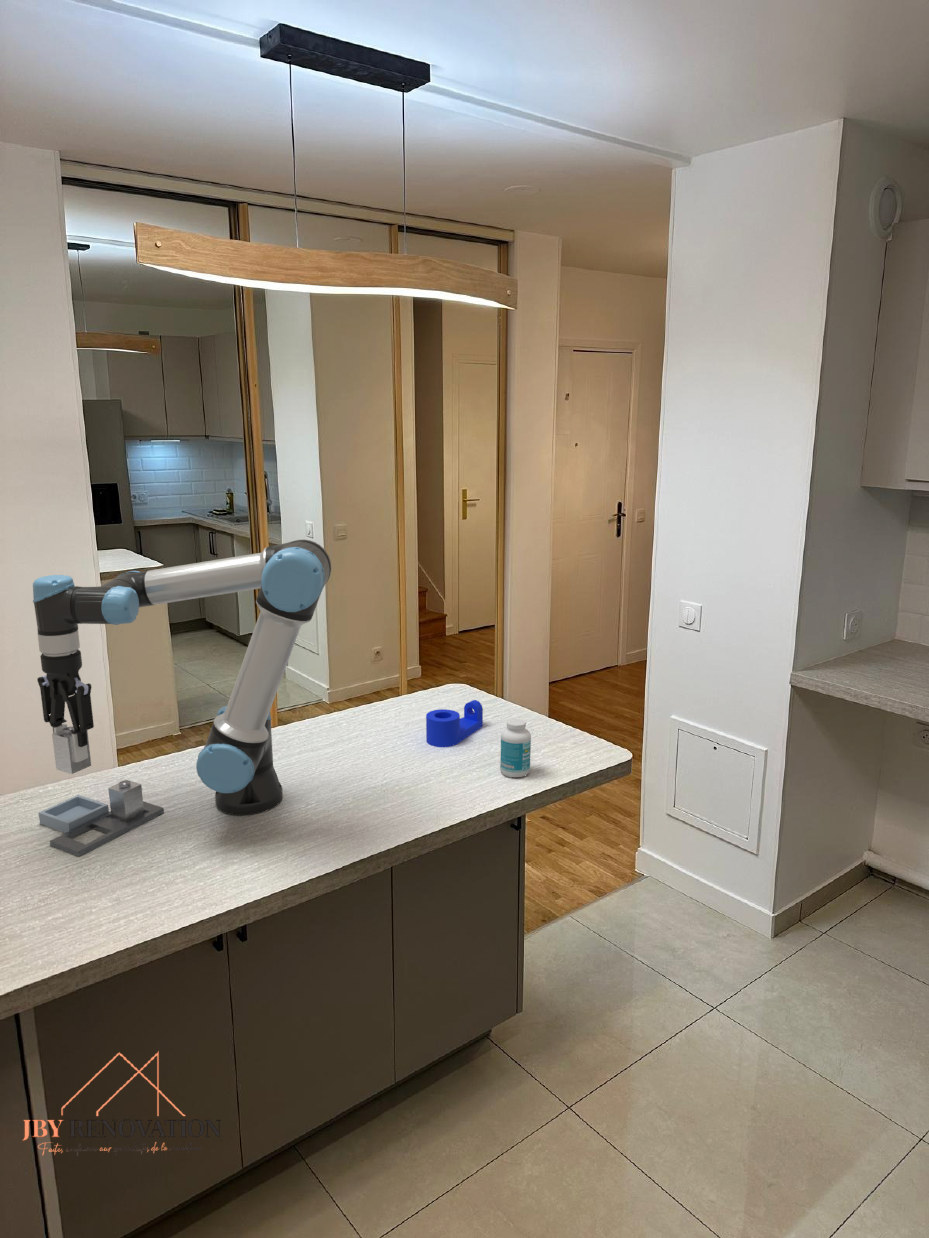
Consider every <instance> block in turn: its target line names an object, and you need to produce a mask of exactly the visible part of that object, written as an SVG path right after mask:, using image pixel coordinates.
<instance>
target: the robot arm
mask: <svg viewBox="0 0 929 1238" xmlns="http://www.w3.org/2000/svg"><path fill="white" fill-rule="evenodd" d="M331 572H332V562H331V558H330V556H329V553H328V552H327V550H326V549H325V548H324V547H323V546H322V545H320V544H319V543H317V542H315V541H313V540H308V539H297V540H292V541H289V542H285V543H281V544H276V545H270V546H266V547H264V549H263V550H262V552H259V553H251V554H244V555H238V556H232V557H226V558H219V559H213V560H208V561H201V562H194V563H189V564H188V563H187V564H183V565H182V564H181V565H175V566H169V567H164V568H157V569H150V570H147V571H138V570H130V571H127V572H123V573H121V574H120V575H118V576H116V577H115V578H113V579H112V580H110V581H108V582H106V583H104V584H102V585H100V586H78V585H77V586H76V585H75V583H74V578H73V577H71V576H70V575H64V574H51V575H44V576H39V577H38V578H36V579H35V580H34V581H33V583H32V594H33V595H32V596H33V597H32V598H33V600H32V603H33V605H34V612H35V614H34V615H35V620H36V626H37V628H36V629H37V640H38V649H39V652H40V653H41V654H40V655H39V656H40V664H41V670H42V672H43V673H44V674H45V675H42V676H39V677H37V680H36V681H37V683H38V686H39V690H40V696H41V697H40V698H41V707H42V716H43V720H44V722H45V723H49V725H50V727H52V732H53V733H56V732H59V731H61V730H63V729H64V728H66V727H68V724H66V723H67V721H68V720H66V718H65V713H66V712H65V708H66V706H67V710H68V713H69V717H70V720H71V723H72V724H71V725H72V727H73V728H74V731H72V732H71V733H72V740H73V748H74V757H75V762H80V761H82V760H85V759H87V758H88V751H87V744H88V741H89V740H88V741H87V732H88V730H91V729H94V727H95V725H94V717H93V707H92V697H91V693H92V684H91V683H84V682H83V681H82V679H81V676H80V673H79V672H80V670H81V668H82V667H83V659H82V653H81V650H80V647H81V644H80V642H81V641H80V635H79V624H80V625H81V624H82V625H83V624H85V625H88V624H89V625H113V626H115V625H116V626H117V625H124V624H132V623H134V622H135V620H136V619H137V616H138V615H139V609H140V608H146V607H150V606H155V605H161V604H162V605H163V604H168V603H169V604H170V603H176V602H182V601H187V600H192V599H193V600H195V599H200V598H206V597H207V598H208V597H213V596H219V595H225V594H227V595H228V594H232V593H240V592H245V591H252V590H257V589H259V592H258V594H257V597H256V600H255V604H256V605H257V607H258V610H259V611H260V612H259V614H258V617H257V620H256V623H255V625H254V629H253V632H252V634H251V638H250V641H249V643H248V646H247V648H246V651H245V653H244V657H243V660H242V663H241V666H240V668H239V671H238V674H237V677H236V680H235V683H234V686H233V688H232V691H231V694H230V697H229V700H228V702H227V705H225V706H224V705H223V706H222V707H220V708H219V709H218V710H217V713H216V714H217V715H216V717H214V720H213V723H212V726H211V728H210V731H209V733H208V736H207V739H206V742H205V745H204V747H203V748H202V749H201V750H200V752H198V756H197V760H196V764H195V765H196V766H195V767H196V769H195V770H196V773H197V776H198V778H199V779H200V780H201V782H202V783H203V785H205V786H206V787H207V789H208V788H209V789H210V790H212V791H214V792H215V793H214V798H215V799H214V800H215V806H216V808H217V809H218V810H219V811H220V812H222V813H225V814H229V815H232V816H235V815H236V816H249V815H255V814H260V813H265V812H266V811H269V810H272V809H273V808H275V807H277V806H278V805H280V804H281V803H282V800H283V797H284V796H283V795H284V794H283V786H282V784H281V782H280V780H279V777H278V775H277V772H276V770H275V767H274V757H273V756H274V755H273V738H272V717H271V710H272V706H273V703H274V701H275V697H276V695H277V693H278V689H279V687H280V684H281V681H282V678H283V677H284V676H283V675H284V674H285V671H286V668H287V665H288V662H289V659H290V658H291V657H290V656H291V653H292V651H293V648H294V646H295V643H296V641H297V639H298V635H299V632H300V629H301V627H302V626H303V625H305V624H307V623H309V622H311V621H312V619H313V616H314V614H315V611H316V609H317V606H318V604H319V603H318V602H319V600H320V599H321V598H320V597H321V594H322V592H323V589H324V587H325V586H326V585H327V583H329V582H328V581H329V580H330V577H331V575H332V574H331ZM53 733H52V734H53Z"/></svg>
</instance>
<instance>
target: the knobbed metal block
mask: <svg viewBox="0 0 929 1238" xmlns="http://www.w3.org/2000/svg"><path fill="white" fill-rule="evenodd" d="M72 731H74V728H73V726H67V727H66V728H64V729H63V730H61V731H59V732H56V733H52V734H51V736H52V737H51V738H52V743H53V744H52V745H53V753H54V761H55V769H56V771H60V772H63V773H67V774H71V775H73V774H75V773H78V772H80V771H83V770H85V769H87V768H89V767H92V759H91V751H90V742H89V734H88V731H87V741H88V744H87V751H88V758H87V759H85V760H82V761H80V762H75V757H74V748H73V740H72V733H71V732H72Z"/></svg>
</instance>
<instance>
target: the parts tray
mask: <svg viewBox="0 0 929 1238" xmlns="http://www.w3.org/2000/svg"><path fill="white" fill-rule="evenodd" d="M108 812H110V809H109V804H108V803H104V802H101V801H98V800H95V799H92V798H90V797H86V796H83V795H80V794H77V795H75V796H73V797H70V798H68V799H66V800H63V801H61V802H59V803H57V804H54V805H53V806H50V807H47V808H46V809H44V810H41V811H39V812H38V820H39V825H42V826H45V827H47V828H50V829H53V830H55V831H59V832H61V833H63V834H64V833H67V832H69V831H71V830H73V829H75V828H77V827H79V826H81V825H83V824H85V823H87V822H89V821H91V820H93V819H95V818H97V817H100V816H102V815H104V814H106V813H108Z"/></svg>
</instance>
